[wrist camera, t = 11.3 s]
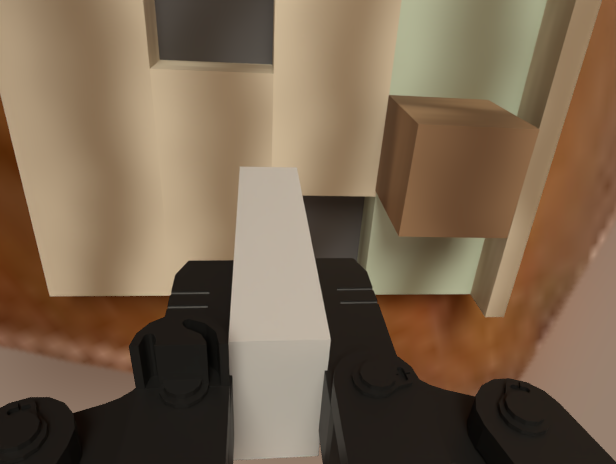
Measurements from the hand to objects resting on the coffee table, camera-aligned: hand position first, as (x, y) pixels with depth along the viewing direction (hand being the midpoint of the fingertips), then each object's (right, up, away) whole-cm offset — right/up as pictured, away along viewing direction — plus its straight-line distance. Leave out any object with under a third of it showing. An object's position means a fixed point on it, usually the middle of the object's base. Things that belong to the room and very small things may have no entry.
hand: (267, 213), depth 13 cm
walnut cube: (+7, +3, +9) cm, 12 cm away
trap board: (-1, +5, +10) cm, 11 cm away
